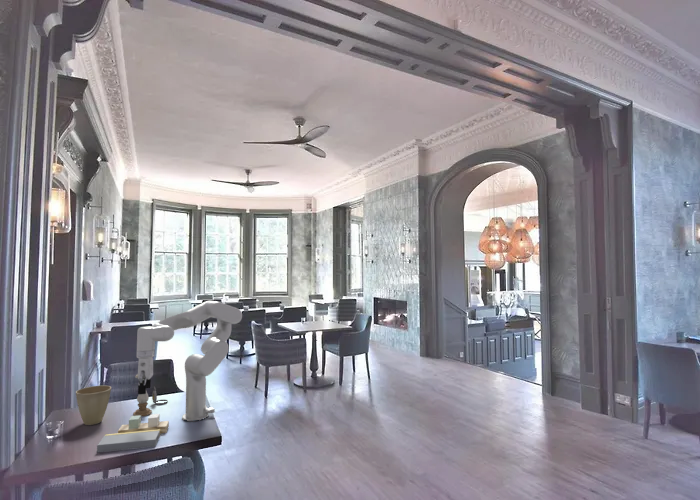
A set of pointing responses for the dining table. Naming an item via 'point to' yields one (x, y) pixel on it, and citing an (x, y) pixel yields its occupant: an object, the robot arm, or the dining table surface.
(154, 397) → the pocket watch
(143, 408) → the candle holder
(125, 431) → the tan piece
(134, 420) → the pale green block
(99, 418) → the plant pot
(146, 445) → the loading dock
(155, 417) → the block
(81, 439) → the dining table surface
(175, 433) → the dining table surface
